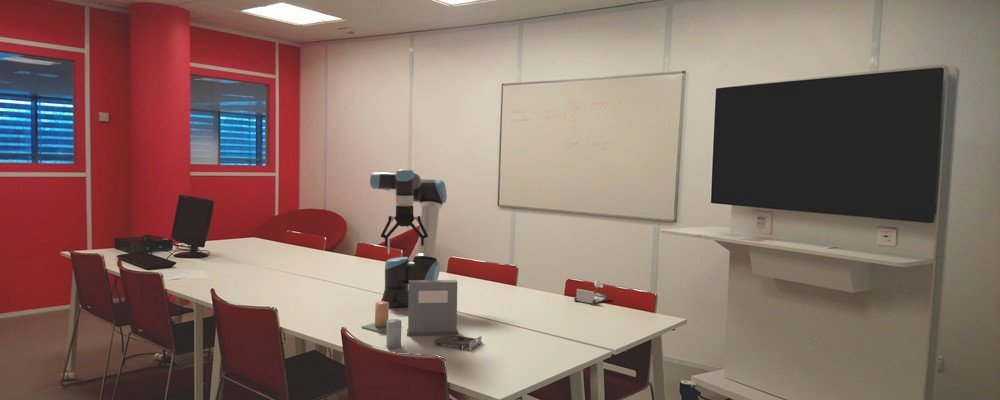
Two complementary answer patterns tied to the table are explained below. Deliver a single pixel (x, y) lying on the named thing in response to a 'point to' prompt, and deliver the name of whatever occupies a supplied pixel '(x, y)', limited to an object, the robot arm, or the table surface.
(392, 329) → the slate cartridge
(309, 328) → the table surface
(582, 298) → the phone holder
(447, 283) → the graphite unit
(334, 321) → the table surface
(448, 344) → the graphics card
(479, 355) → the table surface
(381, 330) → the green mat
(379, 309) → the cylinder
